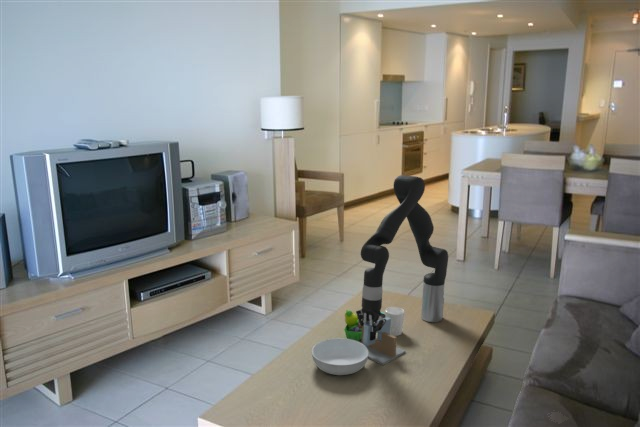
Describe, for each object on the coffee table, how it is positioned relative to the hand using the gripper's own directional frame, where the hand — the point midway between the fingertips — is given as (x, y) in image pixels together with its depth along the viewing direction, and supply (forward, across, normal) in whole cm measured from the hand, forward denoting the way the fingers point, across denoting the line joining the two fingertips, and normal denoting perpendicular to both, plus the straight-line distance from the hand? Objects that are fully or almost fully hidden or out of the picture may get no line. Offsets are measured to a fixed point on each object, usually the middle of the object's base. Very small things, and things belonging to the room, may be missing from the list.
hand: (369, 338), depth 200 cm
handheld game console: (+7, +22, -31) cm, 39 cm away
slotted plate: (+2, 0, -4) cm, 5 cm away
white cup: (+7, +6, -24) cm, 26 cm away
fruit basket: (+7, +15, -9) cm, 19 cm away
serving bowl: (+8, +2, +14) cm, 16 cm away
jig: (+7, 0, -6) cm, 9 cm away
